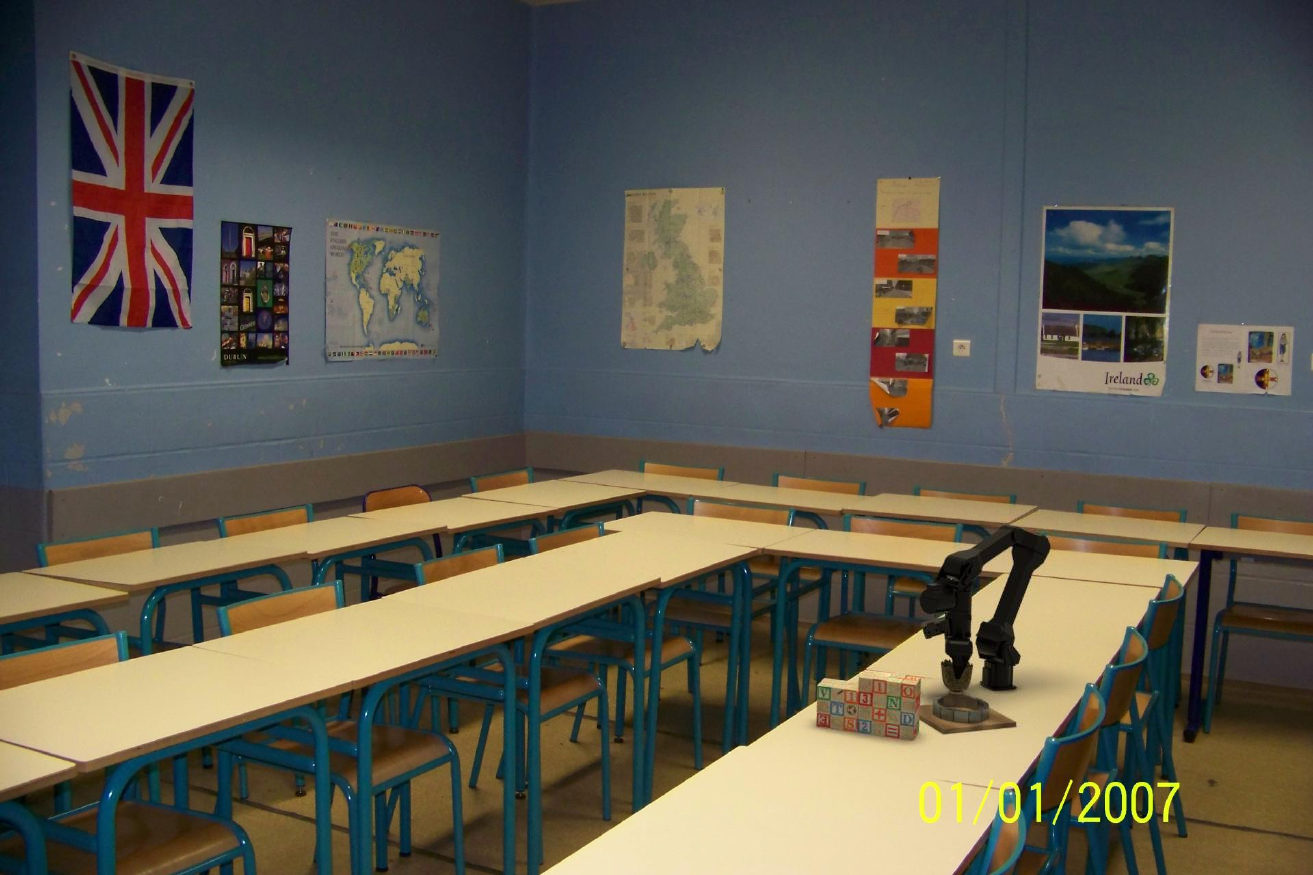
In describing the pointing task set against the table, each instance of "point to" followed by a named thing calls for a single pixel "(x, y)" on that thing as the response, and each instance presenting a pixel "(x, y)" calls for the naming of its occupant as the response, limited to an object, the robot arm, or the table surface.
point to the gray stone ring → (960, 716)
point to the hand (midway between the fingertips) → (957, 673)
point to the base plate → (946, 726)
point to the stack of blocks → (871, 704)
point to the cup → (952, 683)
